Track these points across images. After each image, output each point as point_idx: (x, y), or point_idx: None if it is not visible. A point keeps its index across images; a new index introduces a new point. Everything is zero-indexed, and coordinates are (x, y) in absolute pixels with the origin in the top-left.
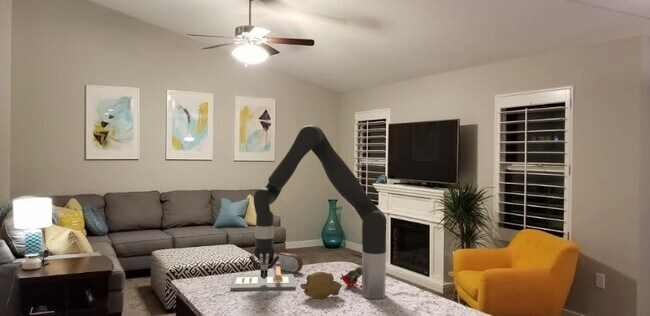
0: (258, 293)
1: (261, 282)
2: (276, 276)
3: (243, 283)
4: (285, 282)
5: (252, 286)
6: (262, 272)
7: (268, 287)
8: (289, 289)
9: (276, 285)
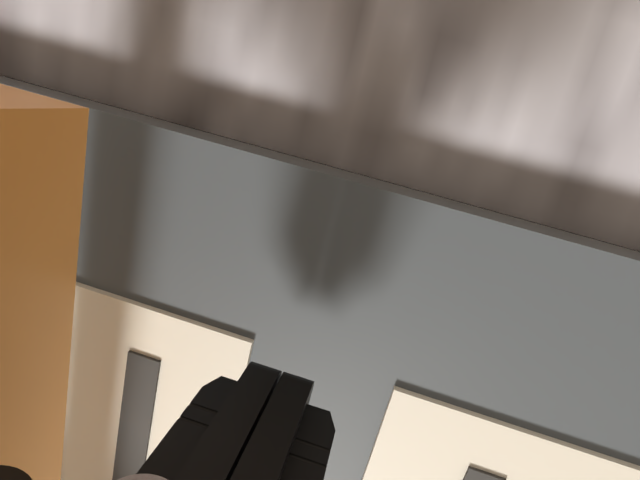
0: (480, 18)
1: None
2: (11, 105)
3: (610, 469)
4: None
5: (515, 280)
6: (279, 462)
7: (272, 158)
8: (6, 78)
9: (140, 205)
